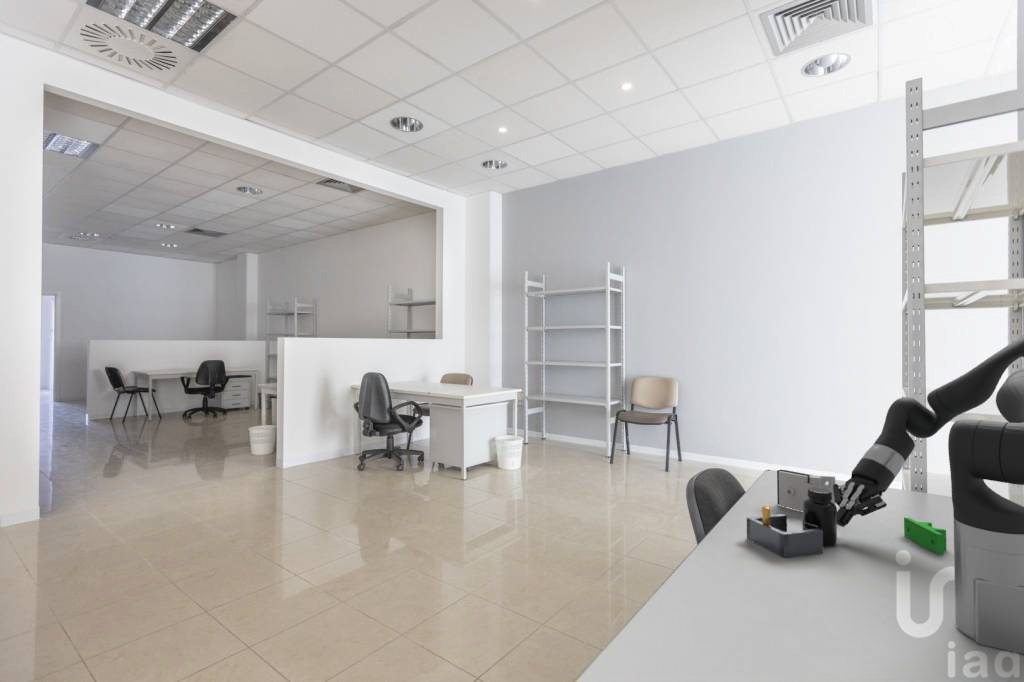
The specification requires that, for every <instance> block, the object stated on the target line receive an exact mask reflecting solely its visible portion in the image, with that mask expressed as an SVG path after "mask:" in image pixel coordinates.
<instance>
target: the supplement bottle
mask: <svg viewBox="0 0 1024 682" xmlns="http://www.w3.org/2000/svg"><path fill="white" fill-rule="evenodd" d="M807 496H808V497H809V498H808V499H806V500H804V502H803V512H802V530H809V529H821V530H823V548H824V547H825V548H826V547H829V548H830V547H834V546H836V545H837V541H838V535H837V534H838V533H837V532H838V525H837V511H838V509H837V505H836V506H835V504H836V503H835V504H834V503H832V502H831V500H832V492H831V491H830V490H828V489H824V488H817V487H810V488H808V494H807Z"/></svg>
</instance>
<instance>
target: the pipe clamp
mask: <svg viewBox="0 0 1024 682" xmlns="http://www.w3.org/2000/svg"><path fill="white" fill-rule="evenodd" d="M903 520H904V521H903V529H904V530H903V531H904V535H903V536H904V537H906V538H907V539H910V540H912V542H915V543H917V544H919V545H920V546H922V547H923V548H926V549H928V550H929V551H931V552H933V553H934V554H936V555H941V556H943V555H944V551H947V529H945V528H937V527H933V523H932V522H929V521H917V520H915V519H913V518H911V517H903Z"/></svg>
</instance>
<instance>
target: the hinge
mask: <svg viewBox="0 0 1024 682" xmlns="http://www.w3.org/2000/svg"><path fill="white" fill-rule="evenodd" d="M776 479H777V482H776V483H777V485H776V486H777V494H776V495H777V505H778V504H779V505H781V506H784V507H789V508H792V509H796V510H799V511H803V502H804V500H806V499H808V498H809V497H808V496H807V494H808V488H810V487H817V488H824V489H828V490H830V491H831V492H832V500H831V502H832V503H834V504H835V506H836V507H837V505H836V503H835V499H834V491H833V485H834V484H836V476H833V475H832V476H831V475H815V474H809V473H805V472H799V471H794V470H788V469H779V470H777V471H776ZM827 482H828V484H826V483H827ZM799 511H798V512H799Z"/></svg>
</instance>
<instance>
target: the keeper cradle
mask: <svg viewBox="0 0 1024 682" xmlns="http://www.w3.org/2000/svg"><path fill="white" fill-rule="evenodd" d="M761 509H762V511H761V514H762V515H760V516H747V517H746V539H747V540H748V539H749V540H748V541H750V540H751V541H750V542H752V541H753V542H752V543H754V544H756V545H757V546H759V547H762V548H764V549H766V550H767V551H769V552H771V553H773V554H775V555H777V556H779V557H781V558H783V559H787V558H795V557H796V558H797V557H798V558H799V557H805V556H806V557H807V556H812V555H813V556H814V555H820V554H824V546H823V530H821V529H809V530H803V529H802V530H793V531H788V523H787V522H788V520H787V519H788V517H787V514H784V513H779V514H778V513H777V514H771V507H770V506H765V505H764V506H761Z"/></svg>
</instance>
